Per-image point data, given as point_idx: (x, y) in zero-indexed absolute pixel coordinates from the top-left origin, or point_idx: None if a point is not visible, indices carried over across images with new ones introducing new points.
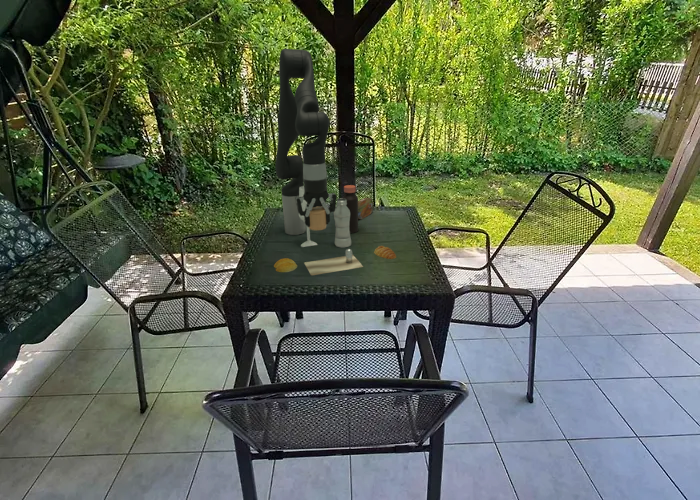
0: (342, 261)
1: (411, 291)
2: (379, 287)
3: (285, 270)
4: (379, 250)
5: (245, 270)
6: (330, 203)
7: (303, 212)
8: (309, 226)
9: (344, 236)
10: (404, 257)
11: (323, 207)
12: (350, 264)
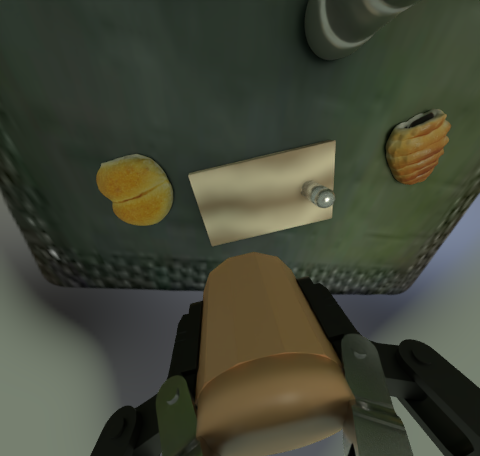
0: (294, 182)
1: (365, 286)
2: (327, 274)
3: (144, 225)
4: (414, 148)
5: (10, 175)
6: (468, 435)
7: (159, 451)
8: None
9: (364, 35)
10: (447, 156)
11: (346, 451)
12: (308, 203)
